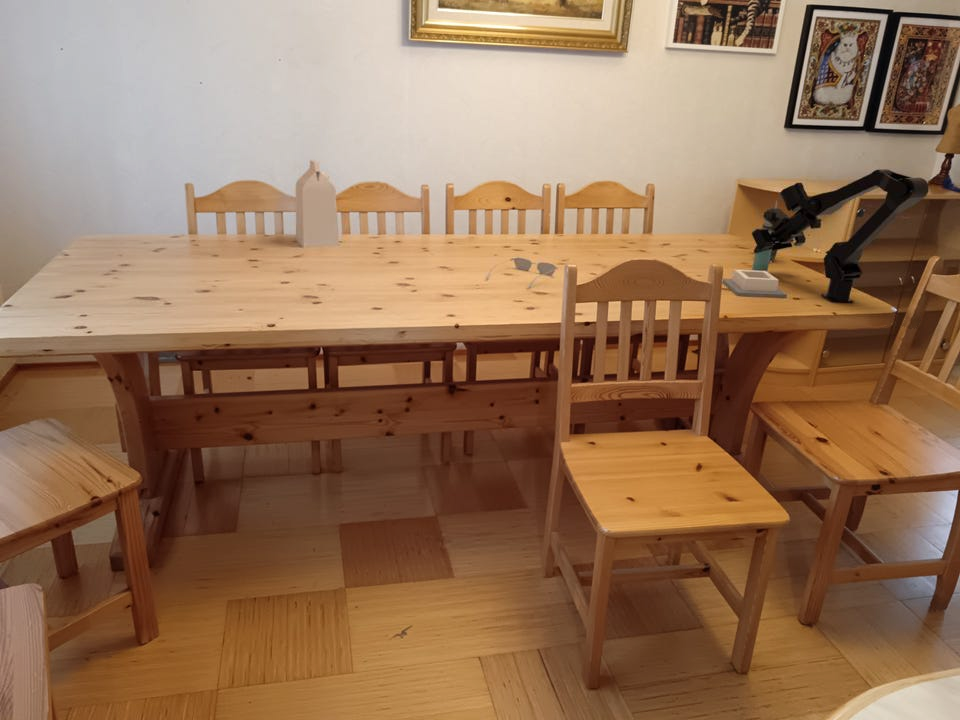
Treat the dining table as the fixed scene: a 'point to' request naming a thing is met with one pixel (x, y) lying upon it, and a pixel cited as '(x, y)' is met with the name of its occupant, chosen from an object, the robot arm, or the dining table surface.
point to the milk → (316, 209)
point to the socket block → (754, 284)
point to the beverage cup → (768, 226)
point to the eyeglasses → (526, 265)
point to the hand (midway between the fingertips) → (759, 251)
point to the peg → (762, 260)
